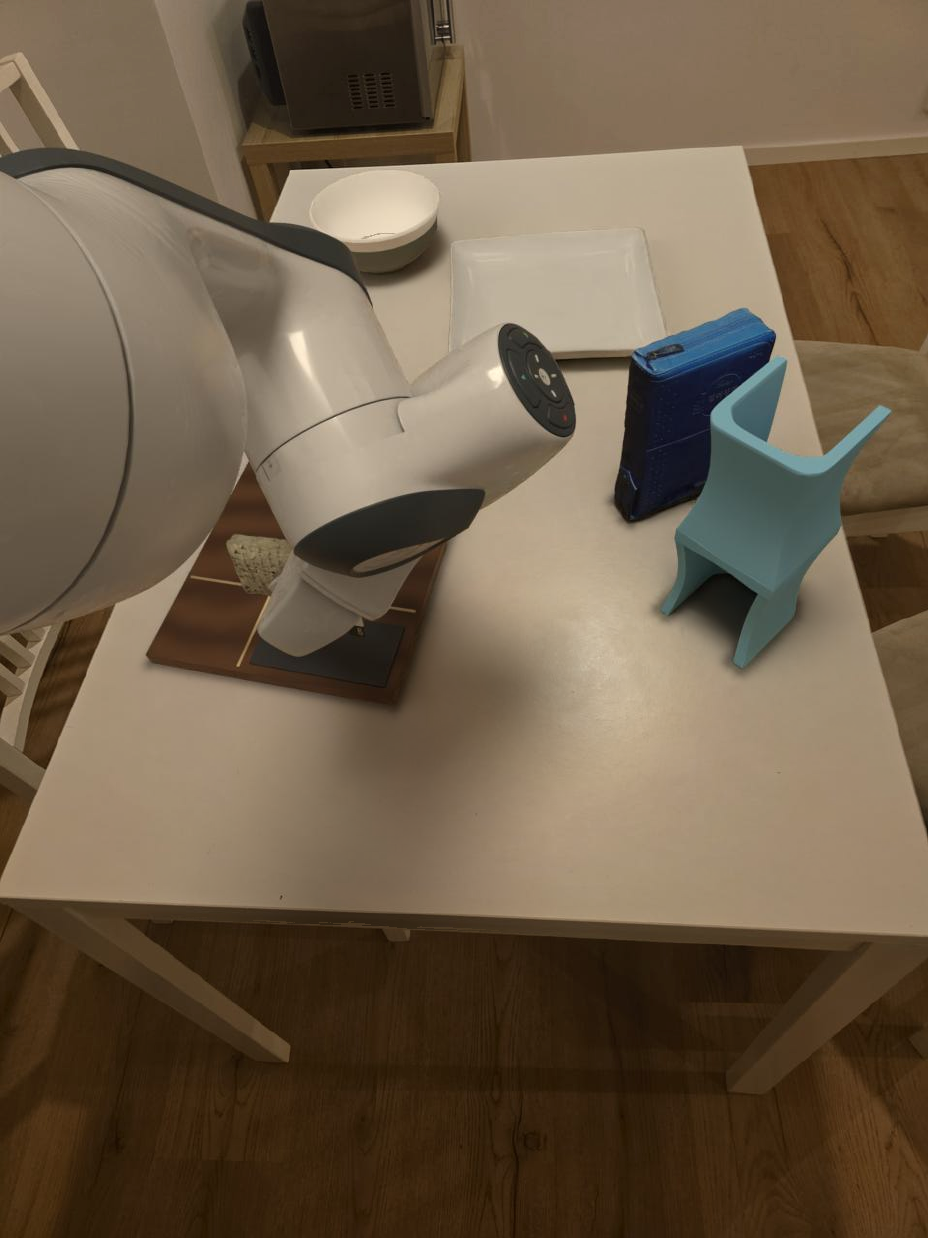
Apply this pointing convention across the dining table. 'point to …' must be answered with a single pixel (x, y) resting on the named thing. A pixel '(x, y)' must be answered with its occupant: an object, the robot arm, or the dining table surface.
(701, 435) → the book
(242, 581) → the cuneiform tablet
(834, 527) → the light blue toy chair
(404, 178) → the bowl
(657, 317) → the square plate
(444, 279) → the dining table surface
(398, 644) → the board
